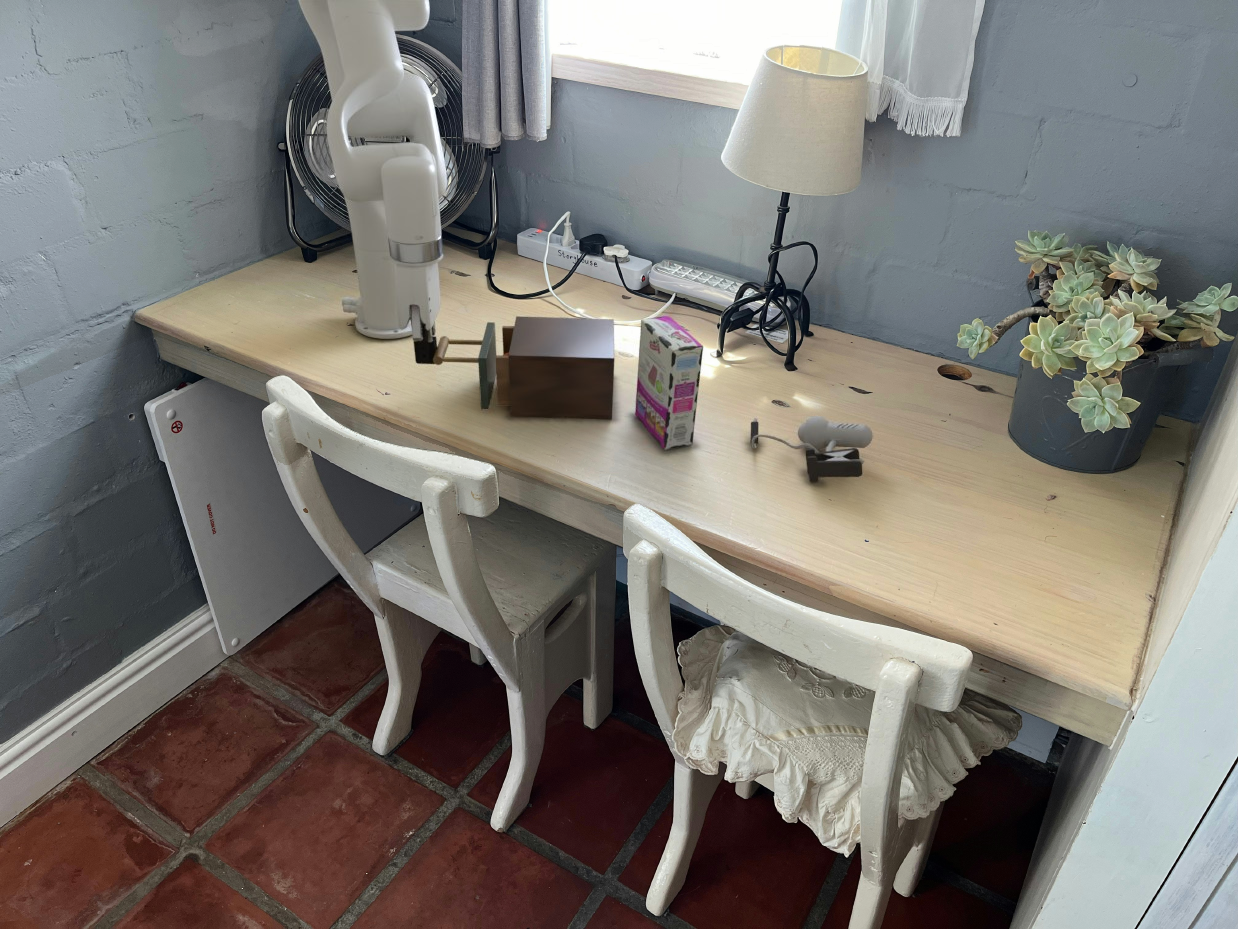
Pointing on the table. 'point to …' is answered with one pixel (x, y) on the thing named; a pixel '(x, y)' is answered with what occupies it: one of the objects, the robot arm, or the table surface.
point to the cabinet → (562, 368)
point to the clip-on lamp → (824, 434)
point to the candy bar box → (668, 381)
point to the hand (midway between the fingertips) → (427, 361)
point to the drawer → (485, 363)
